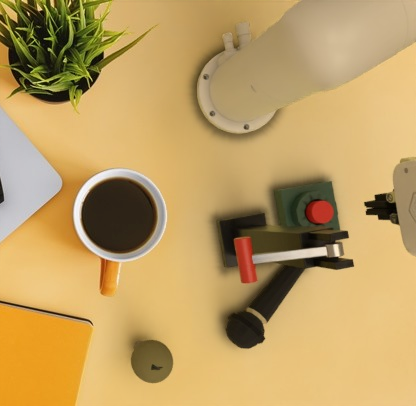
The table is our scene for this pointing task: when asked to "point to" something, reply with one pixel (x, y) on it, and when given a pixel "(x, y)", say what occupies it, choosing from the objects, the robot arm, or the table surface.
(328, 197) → the button box
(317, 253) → the switch lever
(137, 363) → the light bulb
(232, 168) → the table surface
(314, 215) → the button
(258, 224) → the switch pillar
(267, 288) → the microphone
